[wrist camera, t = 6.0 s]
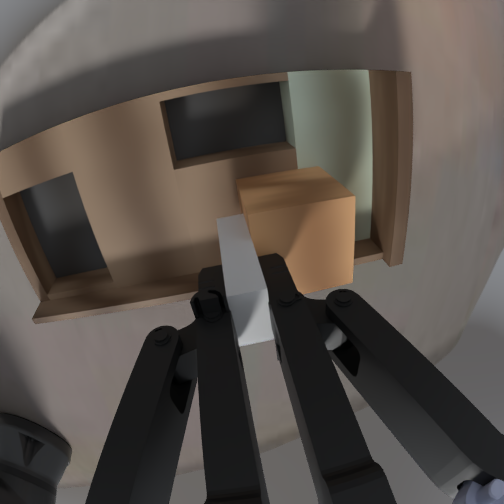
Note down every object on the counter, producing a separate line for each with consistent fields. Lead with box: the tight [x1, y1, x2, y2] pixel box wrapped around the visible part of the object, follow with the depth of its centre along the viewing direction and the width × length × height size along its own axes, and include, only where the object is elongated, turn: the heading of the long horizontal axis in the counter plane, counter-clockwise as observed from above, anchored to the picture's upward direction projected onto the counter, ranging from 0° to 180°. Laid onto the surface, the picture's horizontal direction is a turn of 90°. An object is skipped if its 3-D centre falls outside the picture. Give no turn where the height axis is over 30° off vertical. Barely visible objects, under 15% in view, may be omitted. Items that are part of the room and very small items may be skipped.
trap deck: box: [0, 70, 413, 324], centre depth 17 cm, size 26×12×6 cm, turn 98°
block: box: [236, 166, 355, 294], centre depth 17 cm, size 5×5×5 cm
